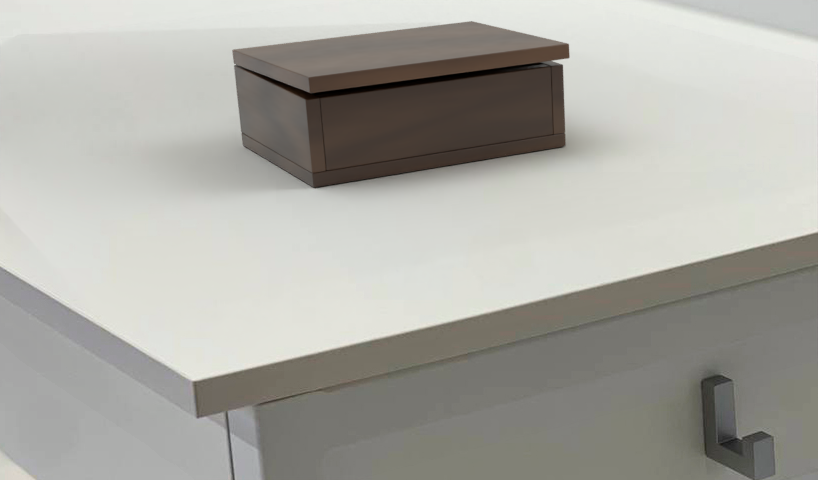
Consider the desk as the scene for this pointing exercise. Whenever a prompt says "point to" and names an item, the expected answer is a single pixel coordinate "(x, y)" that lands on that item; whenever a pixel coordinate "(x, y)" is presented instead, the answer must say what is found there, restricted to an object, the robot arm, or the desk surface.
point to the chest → (401, 121)
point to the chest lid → (397, 55)
